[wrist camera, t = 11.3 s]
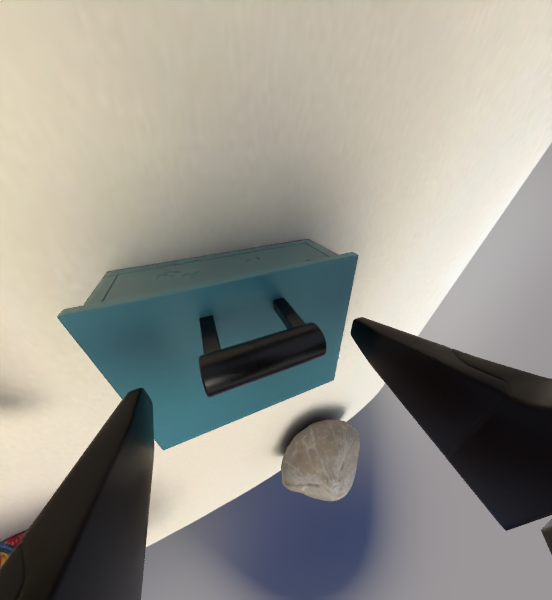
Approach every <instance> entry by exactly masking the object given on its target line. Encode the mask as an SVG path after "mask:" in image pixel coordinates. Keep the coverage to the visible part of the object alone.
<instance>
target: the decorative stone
mask: <svg viewBox="0 0 552 600" xmlns="http://www.w3.org/2000/svg"><path fill="white" fill-rule="evenodd" d="M359 447H360V443H359V435H358V432H357V431H356V430H355V429H354V428H353V427H352V426H351V425H349V424H348V423H347V422H345V421H341V420H334V419H327V420H322V421H318V422H315V423H312V424H310V425H309V426H308V427H306V428H305V429H304V430H302V431H300V432H299V433H298V434H297V435H296V436H295V437H294V438H293V439H292V441H291V443H290V444H289V446H288V447H287V449H286V452H285V454H284V456H283V460H282V465H281V471H282V482H283V484H284V486H285V487H286V488H288V489H289V490H291V491H296V492H301V493H303V494H305V495H307V496H309V497H312V498H316V499H319V500H324V501H336V500H339V499H341V498H342V497H344V496H345V495H346V494H347V493H348V491H349V490H350V488H351V486H352V484H353V480H354V477H355V472H356V467H357V460H358V454H359Z"/></svg>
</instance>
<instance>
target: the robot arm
mask: <svg viewBox="0 0 552 600" xmlns="http://www.w3.org/2000/svg"><path fill="white" fill-rule="evenodd" d="M351 336H352V338H353V339H354V341H355V342H356V344H357V345H358V347H359V348H360V350H361V351H362V353H363V354H364V356H365V357H366V359H367V360H368V362H369V363H370V364H371V366H372V367H373V368H374V369H375V371H376V372H377V373H378V374H379V376H380V377H381V378H382V379H383V381H384V382H385V383H386V384H387V385H388V386H389V388H390V389H391V390H392V392H393V393H394V394H395V395H396V396H397V398H398V399H399V400H400V401H401V402H402V404H403V405H404V406H405V408H406V409H407V410H408V411H409V413H410V414H411V415H412V416H413V418H414V419H415V420H416V421H417V422H418V424H419V425H420V426H421V427H422V429H423V430H424V431H425V432H426V434H427V435H428V436H429V437H430V438H431V440H432V441H433V442H434V443H435V444H436V446H437V447H438V448H439V450H440V451H441V452H442V453H443V454H444V455H445V457H446V458H447V460H448V461H449V462H450V463H451V465H452V466H453V467H454V468H455V469H456V471H457V472H458V473H459V474H460V475H461V477H462V478H463V479H464V481H465V482H466V483H467V484H468V485H469V487H470V488H471V489H472V490H473V492H474V493H475V494H476V495H477V497H478V498H479V499H480V500H481V502H482V503H483V504H484V505H485V506H486V508H487V509H488V510H489V511H490V513H491V514H492V515H493V516H494V518H495V519H496V520H497V521H498V522H499V524H500V525H501V526H502V527H503V528H504V529H505V530H510V529H512V528H515V527H518V526H521V525H524V524H527V523H530V522H533V521H535V520H538V519H541V518H544V517H547V516H550V515H552V379H549V378H545V377H541V376H538V375H534V374H531V373H528V372H524V371H521V370H518V369H514V368H511V367H507V366H504V365H501V364H497V363H494V362H491V361H488V360H484V359H481V358H478V357H475V356H472V355H469V354H466V353H463V352H460V351H458V350H455V349H451V348H449V347H446V346H443V345H440V344H437V343H435V342H432V341H429V340H426V339H423V338H420V337H417V336H415V335H412V334H409V333H406V332H403V331H400V330H397V329H395V328H392V327H389V326H386V325H383V324H380V323H377V322H375V321H372V320H369V319H366V318H363V317H360V318H357V319H355V320H354V321H353V324H352V329H351ZM153 459H154V424H153V403H152V400H151V398H150V397H149V395H148V394H147V392H146V391H145V389H144V388H137V389H134V390H131V391H129V392H128V393H127V394H126V395H125V397H124V398H123V400H122V401H121V402H120V404H119V405H118V406H117V408H116V409H115V411H114V412H113V413H112V415H111V416H110V417H109V419H108V420H107V422H106V423H105V424H104V426H103V427H102V429H101V430H100V431H99V433H98V434H97V435H96V437H95V438H94V440H93V441H92V442H91V444H90V445H89V446H88V448H87V449H86V451H85V452H84V453H83V455H82V456H81V457H80V459H79V460H78V462H77V463H76V464H75V466H74V467H73V469H72V470H71V471H70V473H69V474H68V475H67V477H66V478H65V480H64V481H63V482H62V484H61V485H60V486H59V488H58V489H57V491H56V492H55V493H54V495H53V496H52V498H51V499H50V500H49V502H48V503H47V504H46V506H45V507H44V509H43V510H42V511H41V513H40V514H39V515H38V517H37V518H36V520H35V521H34V522H33V524H32V525H31V526H30V528H29V529H28V531H27V532H26V533H25V535H24V536H23V538H22V540H21V542H20V543H19V544H17V546H16V547H15V548H14V550H13V551H12V553H11V554H10V555H9V557H8V558H7V559H6V561H5V562H4V564H3V565H2V566H1V568H0V600H141V591H142V581H143V570H144V559H145V548H146V537H147V526H148V515H149V504H150V493H151V482H152V470H153ZM541 531H542V533H543V536H544V538H545V540H546V543H547V545H548V547H549V549H550V552H551V554H552V519H551V520H550V521H549V522H548V523H547V524H546V525H545V526H544V527H543V529H542V530H541Z"/></svg>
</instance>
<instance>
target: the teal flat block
mask: <svg viewBox="0 0 552 600" xmlns="http://www.w3.org/2000/svg"><path fill="white" fill-rule="evenodd" d="M335 255H338V254H336V253H334V252H333V251H331V250H329V249H327V248H325V247H323V246H321V245H319V244H317V243H315V242H313V241H312V240H310V239H306V240H300V241H294V242H288V243H281V244H275V245H269V246H263V247H257V248H251V249H245V250H238V251H232V252H226V253H220V254H214V255H208V256H202V257H195V258H189V259H183V260H177V261H171V262H165V263H159V264H152V265H146V266H140V267H134V268H128V269H122V270H116V271H109V272H107V273H106V274H105V275H104V277H103V279H102V280H101V281H100V283H99V284H98V285H97V287H96V288H95V290H94V291H93V292H92V294H91V295H90V297H89V298H88V299H87V301H86V302H85V304H84V305H89V304H94V303H99V302H104V301H109V300H114V299H119V298H124V297H129V296H134V295H139V294H144V293H149V292H154V291H159V290H164V289H169V288H174V287H179V286H184V285H189V284H194V283H199V282H204V281H209V280H214V279H219V278H224V277H229V276H234V275H240V274H245V273H250V272H255V271H260V270H265V269H270V268H275V267H280V266H285V265H290V264H295V263H300V262H305V261H310V260H315V259H320V258H325V257H330V256H335Z"/></svg>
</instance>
